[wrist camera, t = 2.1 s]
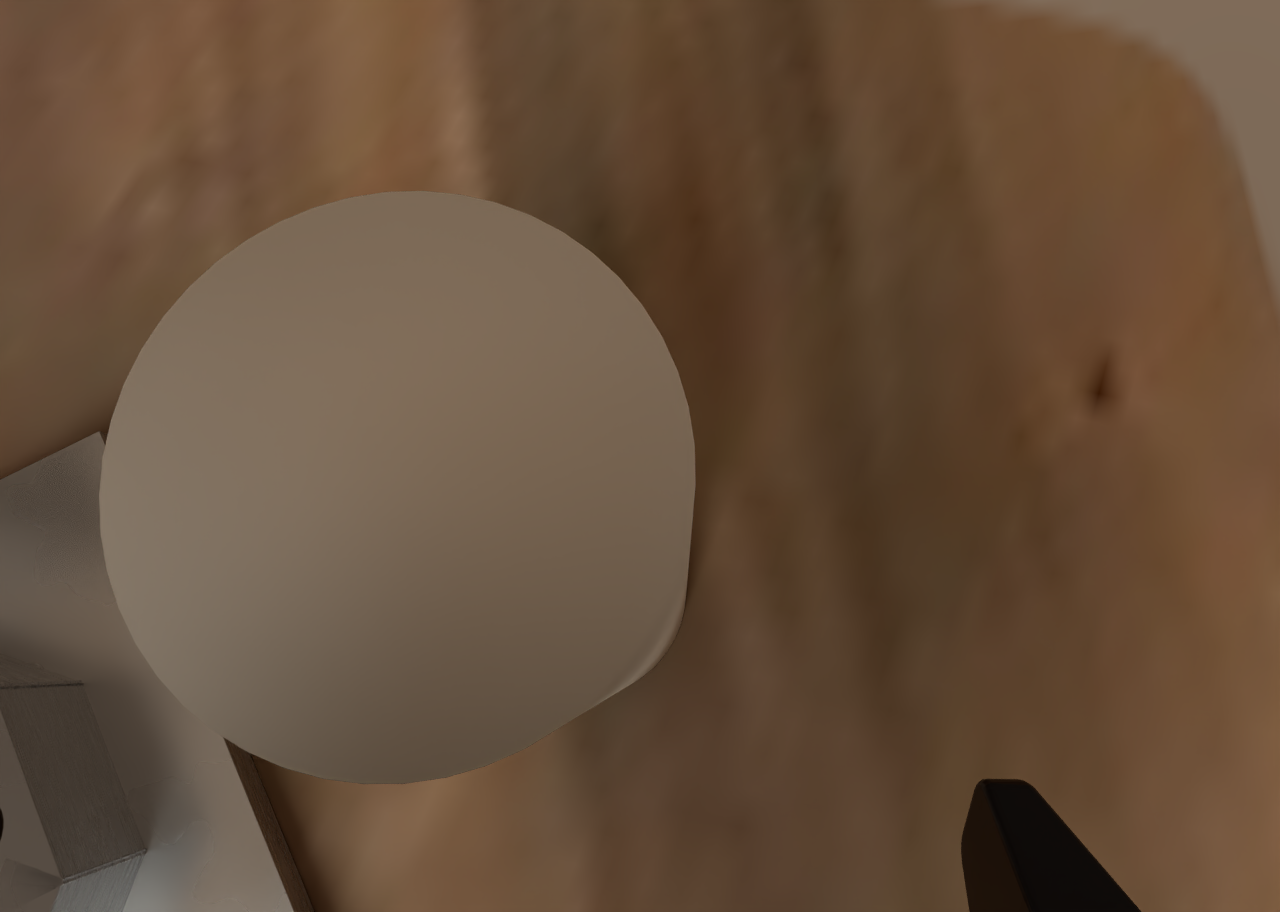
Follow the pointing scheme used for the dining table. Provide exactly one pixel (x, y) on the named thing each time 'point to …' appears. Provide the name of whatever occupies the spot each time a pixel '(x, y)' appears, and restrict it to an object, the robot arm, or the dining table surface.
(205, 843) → the square plate with nut
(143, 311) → the dining table surface
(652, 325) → the beige cylinder
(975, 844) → the robot arm
